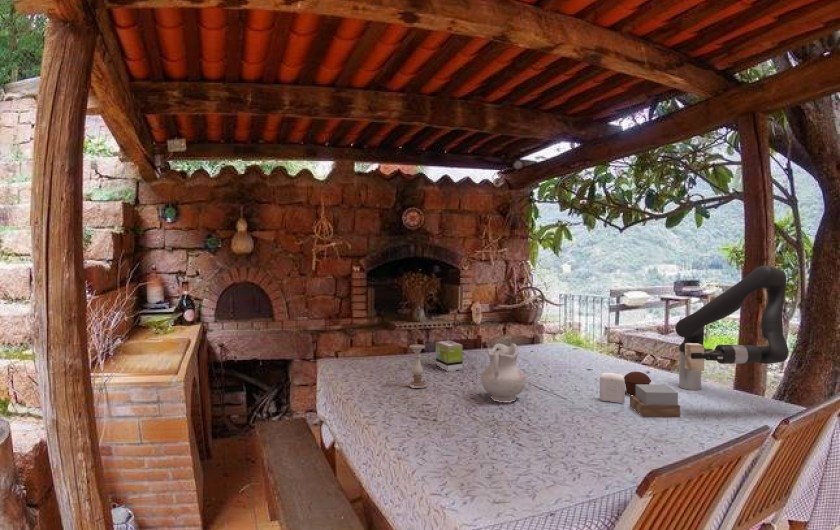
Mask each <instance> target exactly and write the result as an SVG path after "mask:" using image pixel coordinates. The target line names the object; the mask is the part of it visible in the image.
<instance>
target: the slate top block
mask: <svg viewBox="0 0 840 530" xmlns="http://www.w3.org/2000/svg"><path fill="white" fill-rule="evenodd" d="M678 395H679V393H678V392H677V391H676V390H675V389H673V388H671V387H669V386H668V385H667V384H649V385H648V384H636V397H637V398H638V399H640V400H641V401H642V402H643V403H644V404H646V405H679V396H678Z"/></svg>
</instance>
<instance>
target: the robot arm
mask: <svg viewBox="0 0 840 530" xmlns="http://www.w3.org/2000/svg"><path fill="white" fill-rule="evenodd" d="M786 286H787V275H786V274H785V272H784V271H783V270H781V269H779V268H775V267H773V266H769V265H760V266H758V267H756V268H754V269H753V270H751V272H750V273H748V274H747V275H746V276H744V278H742V279H741V280H739V281H738V282H737V283H736V284H734V285H732V287H730V288H729V289H727V290H725V291H724V292H722V293H721V294H719V295H718V296H716V297H715V298H713V299H712V300H710V301H708V302H707V303H706V304H704V305H703V306H702V307H701V308H699V309H698V310H696V311H695V312H693V313H691V314H689V315H688V316H685V317H683V318H681V319H679V320H678V321H677V322H676V325H675V332H676V334H677V335H678V336H679V337H681V338H683V341H682V342H681V343H680V345H679V346H678V347H679V348H678V351H679V352H678V353H679V354H678V357H679V362H678V363H679V366H678V387H680V389H684V390H689V391H690V390H691V391H700V390H702V371H690V370H688V369H686V368H685V343H698V344H701V345H704V340H705V339H704V337H705V327H706V326H707V325H709V324H712V323H714V322H715V323H716V322H717V321H720V320H723V319H725V318H727V317H729V316H730V315H732V314H733V313H735V312H737V311H739V309H741V308H742V306H743V305H744V303H745V301H746V299H747V298H748V297H749V296H750V295H751V294H752V293H754V292H756V291H757V290H759V289H761V288H762V289H765V290H766V292H767V302H766V304H765V308H764V310H763V312H762V314H761V320H760V321H761V323H760V324H761V336H762V338H763V339H766V340H767V341H768V345H763V346H757V345H752V344H748V345H746V344H744V345H743V344H742V345H741V344H717V345H716V346H715V348H714V349H713V348H706V347H704V353H691V358H692V359H703V360H704V361H710V362H711V361H713V362H717V363H718V364H720V365H740V364H755V363H756V364H764V365H765V364H766V365H770V364H777V363H783V362H785V361H787V359H788V358H789V346H788V345H787V341H786V338H785V336H784V324H783V321H784V320H783V310H784V302H785V300H784V299H785V293H786Z"/></svg>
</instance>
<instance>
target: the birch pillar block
mask: <svg viewBox="0 0 840 530" xmlns="http://www.w3.org/2000/svg"><path fill="white" fill-rule="evenodd" d="M704 348H705V345H704V344H703V345H701V344H698V343H685V368H686V369H688V370H690V371H701V372H704V371H705V359H704V360H703V359H692V358H691V353H704Z"/></svg>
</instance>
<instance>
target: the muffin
mask: <svg viewBox="0 0 840 530" xmlns="http://www.w3.org/2000/svg"><path fill="white" fill-rule="evenodd" d="M624 379H625V392H626V394H627V393H628V394H630V395H633V396H636V384H648V385H650V383H652V379H651V378H650V376H648V375H647V374H646V373H644V372H641V371H631V372H628V373H626V374H625V375H624ZM628 394H627V395H628ZM630 395H629V396H630Z"/></svg>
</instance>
